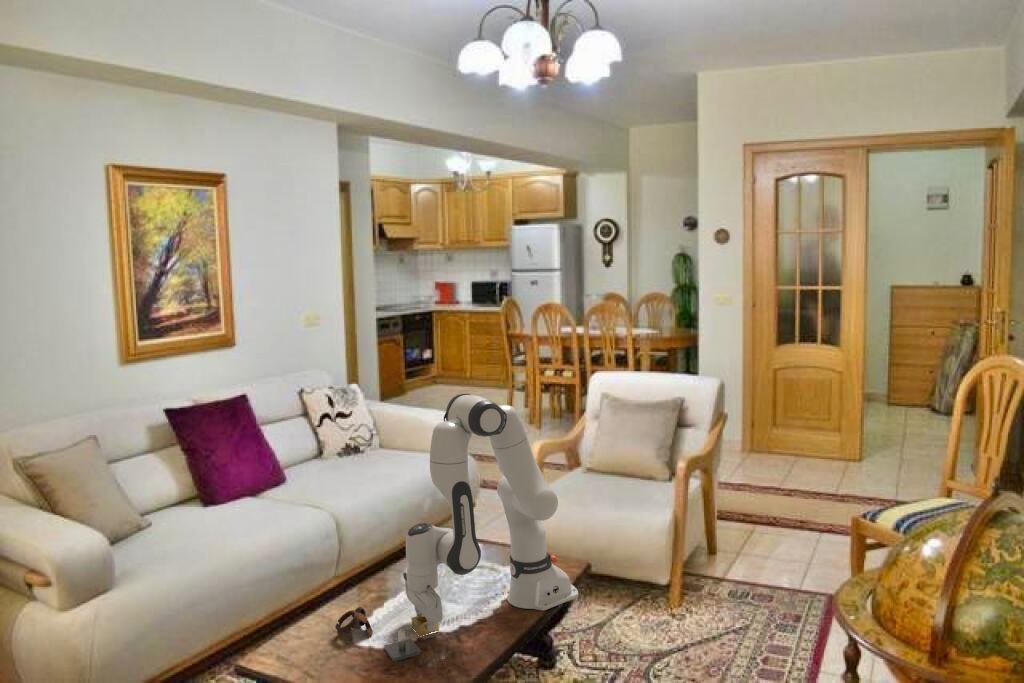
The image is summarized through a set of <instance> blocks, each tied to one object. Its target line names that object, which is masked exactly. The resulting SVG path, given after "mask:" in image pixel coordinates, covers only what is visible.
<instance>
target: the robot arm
mask: <svg viewBox="0 0 1024 683" xmlns="http://www.w3.org/2000/svg"><path fill="white" fill-rule="evenodd" d="M473 435H475V436H478V437H489V441H490V444H491V447H492V450H493V453H494V457H495V459H496V464H497V466H498V468H499V470H500V472H501V474H503V475H502V477H501V478H500V479H499V481H498V483H497V487H496V492H497V495H498V497H499V499H500V501H501V503H502V507H503V510H504V513H505V518H506V521H507V526H508V530H509V538H510V539H509V541H510V556H509V572H510V584H509V591H508V595H507V599H506V600H507V601H508V603H509V605H512V606H514V607H516V608H520V609H526V610H527V609H530V610H531V609H532V610H537V611H546V610H549V609H551V608H554V607H557V606H559V605H561V604H564V603H567V602H568V601H571V600H573V599H576V598H578V597H579V591H578V589H577V588H576V586H574V585H573V584H572V583H571V580H570V578H569V575H568V574H567V573H566V572H565V571H564V570H562V569H561V568H560V567H558V566H556V565H554V564H557V563H558V561H559V559H558V556H555V555H553V554H552V555H551V553H549V552H547V536H546V535H547V534H546V529H545V527H544V525H543V523H542V521H543V522H544V521H547V520H550V519H551V518H552V517H553V516H554V515H555V514H556V512H557V510H558V507H559V499H558V496H557V494H556V493H555V491H554V490H553V489H552V488H551V487H550V485H549V483H548V481H547V480H546V478H545V476H544V473H543V472H542V470H541V469H540V467H539V465H538V463H537V461H536V459H535V457H534V454H533V451H532V448H531V445H530V441H529V439H528V436H527V431H526V429H525V426H524V424H523V422H522V419H521V417H520V415H519V414H518V411H517V409H516V408H515V407H514V406H512V405H509V404H500V405H498V404H497V403H495V402H494V401H492V400H491V399H487V398H486V397H483V396H480V395H473V394H470V393H460V394H456V395H455V396H453V397H452V398H451V399H450V400H449V402H448V403H447V406H446V410H445V414H444V415H443V421H442V422H440V423H438V424H436V426H434V428H433V431H432V436H431V440H430V441H431V442H430V448H429V449H430V450H429V472H430V478H431V481H432V484H433V485H434V487H436V489H437V490H438V491H439V492H440V493H441V495H442V496H443V497H444V499H445V500H446V501H447V503H448V506H449V508H450V511H451V522H452V528H451V527H438V526H435V525H433V524H432V523H429V522H422V523H421V522H420V523H416V524H414V525H412V527H410V528H409V529H408V531H407V533H406V537H405V557H406V561H407V569H406V570H404V571H403V572H402V577H403V579H404V585H405V587H404V588H405V594H406V598H407V599H408V601H409V602H411V604H412V605H413V606H414V610H415V613H416V616H420V615H423V616H424V617H425V618H426V619H427V624H426V629H427V630H428V631H429V632H430V631H433V630H434V623H438V624H439V623H441V622H442V621H443V618H444V617H443V616H444V614H443V607H442V601H441V597H440V595H439V594H438V593H437V591H436V590H435V589H436V588H438V586H439V573H438V572H439V569H438V567H439V565H441V564H444V565H445V566H446V567H448V568H449V570H450V571H452V572H453V573H454V574H456V575H458V576H464V575H467V574H469V573H472V571H474V570H475V569H476V568H477V567H478V565H479V563H480V561H481V557H482V549H481V547H480V544H479V541H478V539H477V536H476V525H475V524H476V523H475V512H474V500H473V495H472V494H473V493H472V489H471V485H470V480H469V479H470V478H469V477H470V476H469V464H468V462H469V459H468V458H469V456H468V451H469V450H468V447H469V443H470V441H471V438H472V437H473Z"/></svg>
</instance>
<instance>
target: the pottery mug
mask: <svg viewBox="0 0 1024 683" xmlns="http://www.w3.org/2000/svg"><path fill="white" fill-rule="evenodd" d="M350 617H352V619H351V621H349V623H347V624H346V625H345V626H342V624H343V623H344V622H345V620H347V619H348V618H350ZM337 622H338V623H337ZM337 622H336V624H335V629H336V633H337V636H338V637H345V636H347V635H348V636H352V629H353V630H359V629H361V628H362V627H363V626H365V629H366V630H367V629H368V630H367V631H366V634H367V635H368V638H369V637H370V638H372V636H373V629H372V626H371V623H370V622H369V619H368V618H367V617H366V610H365V609H364V608H363V607H361V606H360V607H357V608H355V609H351V610H348V611H346V612H345V613H343V614H342V615H341V616H340V617H339V618H338V619H337ZM341 626H342V627H341Z"/></svg>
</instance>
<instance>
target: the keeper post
mask: <svg viewBox="0 0 1024 683" xmlns="http://www.w3.org/2000/svg"><path fill="white" fill-rule="evenodd" d="M397 640H398V641H397V642H393V643H389V644H386V645H383V650H384V651H385V653H386V654H387V655H388V656H389V658H390V659H391V660H392V662H393V663H395V662H398V661H401V660H405V659H408V658H411V657H416V656H419V655H422V650H421V649H420V648H419V646H417V644H416V642H414V640H413V639H412V638H407V639H406V630H405V629H402V628H401V629H399V630H397Z"/></svg>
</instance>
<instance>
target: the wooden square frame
mask: <svg viewBox="0 0 1024 683" xmlns="http://www.w3.org/2000/svg"><path fill="white" fill-rule="evenodd" d="M426 624H427V619H426V618H425V617H424V616H423V615H420V616H417V615H415V616H413V617H411V629H412V628H413V629H414V630H415V631H416V633H417V634H418V635H419V636H418V635H417V634H416V633H415V634H416V635H417V636H418V637H419V638H421V637H420V636H423V635H426V634H429V633H431V632H435V631H439V632H440V628H439V626H440V625H439V624H440V623H439V622H438V623H434V630H433V631H430V632H429V631H428V630H427V629H426ZM413 629H412V630H413ZM414 630H413V631H414ZM423 637H424V636H423Z"/></svg>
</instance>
